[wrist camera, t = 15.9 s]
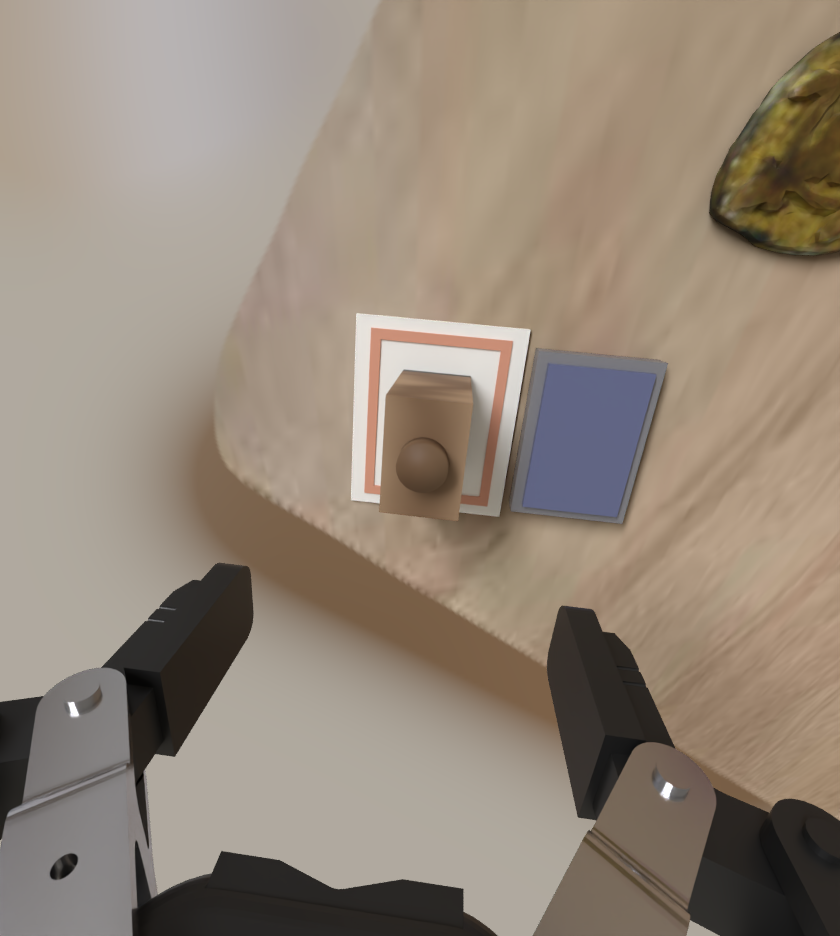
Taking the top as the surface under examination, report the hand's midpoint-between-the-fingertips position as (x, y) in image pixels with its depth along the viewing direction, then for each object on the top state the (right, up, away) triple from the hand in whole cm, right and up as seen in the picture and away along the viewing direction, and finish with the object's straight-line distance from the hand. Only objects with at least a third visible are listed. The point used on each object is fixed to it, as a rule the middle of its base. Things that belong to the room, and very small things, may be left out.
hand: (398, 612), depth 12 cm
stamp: (+1, +7, +17) cm, 18 cm away
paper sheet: (+1, +7, +17) cm, 18 cm away
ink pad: (+10, +6, +16) cm, 20 cm away
